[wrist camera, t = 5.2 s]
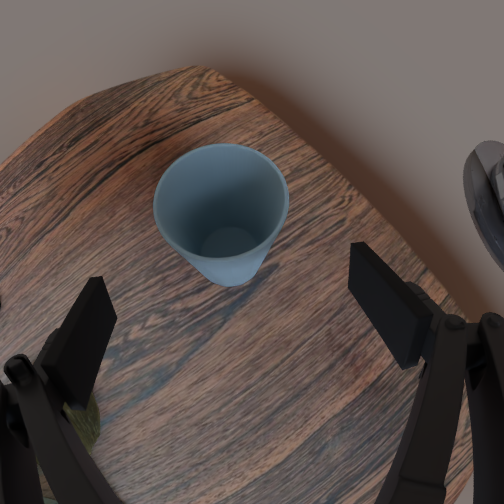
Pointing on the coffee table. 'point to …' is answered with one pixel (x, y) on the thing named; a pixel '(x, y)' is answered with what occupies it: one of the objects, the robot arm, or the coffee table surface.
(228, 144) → the cup
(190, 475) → the coffee table surface
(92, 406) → the seashell
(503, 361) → the robot arm
